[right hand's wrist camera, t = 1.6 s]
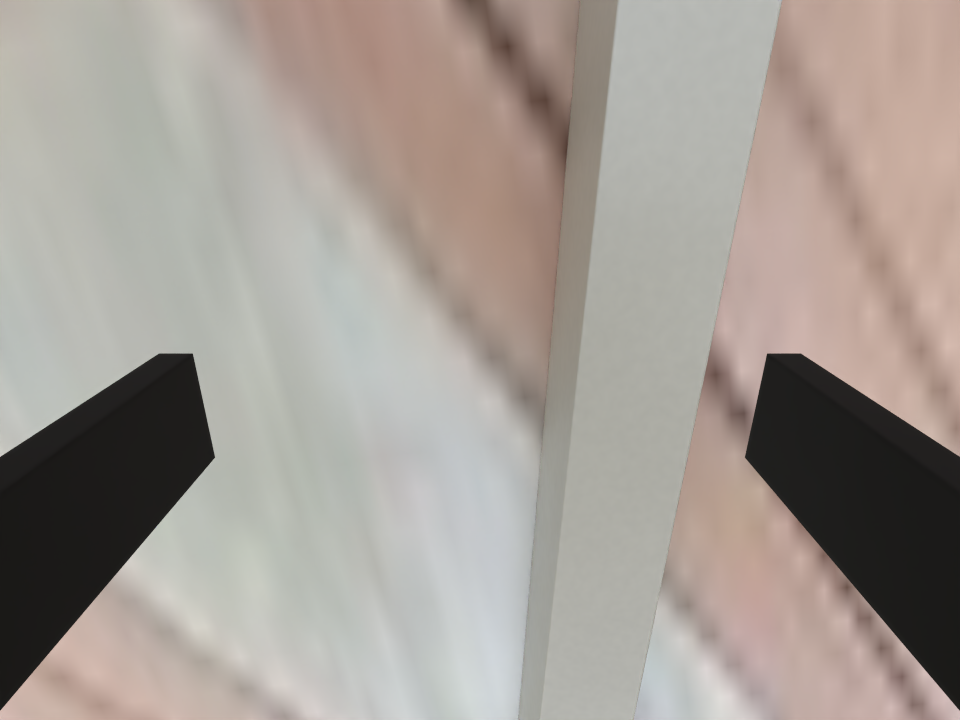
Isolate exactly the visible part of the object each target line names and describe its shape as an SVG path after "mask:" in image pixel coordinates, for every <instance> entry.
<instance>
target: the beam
mask: <svg viewBox="0 0 960 720" xmlns="http://www.w3.org/2000/svg"><path fill="white" fill-rule="evenodd" d="M781 3H782V0H580V8H579V19H578V31H577V42H576V54H575V66H574V77H573V89H572V101H571V112H570V124H569V135H568V147H567V159H566V170H565V182H564V194H563V205H562V217H561V228H560V240H559V252H558V263H557V275H556V287H555V298H554V310H553V321H552V333H551V345H550V356H549V368H548V380H547V391H546V403H545V414H544V426H543V438H542V449H541V461H540V473H539V484H538V496H537V507H536V519H535V531H534V542H533V554H532V566H531V577H530V589H529V600H528V612H527V624H526V635H525V647H524V658H523V670H522V682H521V693H520V705H519V717H518V720H633V719H634V714H635V709H636V705H637V700H638V695H639V690H640V685H641V680H642V676H643V671H644V666H645V661H646V656H647V651H648V647H649V642H650V637H651V632H652V627H653V622H654V618H655V613H656V608H657V603H658V598H659V593H660V588H661V584H662V579H663V574H664V569H665V564H666V559H667V555H668V550H669V545H670V540H671V535H672V530H673V526H674V521H675V516H676V511H677V506H678V501H679V497H680V492H681V487H682V482H683V477H684V472H685V467H686V463H687V458H688V453H689V448H690V443H691V438H692V434H693V429H694V424H695V419H696V414H697V409H698V405H699V400H700V395H701V390H702V385H703V380H704V376H705V371H706V366H707V361H708V356H709V351H710V347H711V342H712V337H713V332H714V327H715V322H716V317H717V313H718V308H719V303H720V298H721V293H722V288H723V284H724V279H725V274H726V269H727V264H728V259H729V255H730V250H731V245H732V240H733V235H734V230H735V226H736V221H737V216H738V211H739V206H740V201H741V196H742V192H743V187H744V182H745V177H746V172H747V167H748V163H749V158H750V153H751V148H752V143H753V138H754V134H755V129H756V124H757V119H758V114H759V109H760V105H761V100H762V95H763V90H764V85H765V80H766V76H767V71H768V66H769V61H770V56H771V51H772V46H773V42H774V37H775V32H776V27H777V22H778V17H779V13H780V8H781Z"/></svg>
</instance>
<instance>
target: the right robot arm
mask: <svg viewBox="0 0 960 720" xmlns="http://www.w3.org/2000/svg"><path fill="white" fill-rule="evenodd" d="M214 458H215V455H214V451H213V446H212V441H211V437H210V432H209V427H208V423H207V418H206V413H205V409H204V404H203V399H202V395H201V390H200V385H199V381H198V376H197V371H196V367H195V362H194V357H193V354H158V355H156V356H155V357H153V358H152V359H150V360H149V361H147V362H146V363H144V364H143V365H141V366H139V367H138V368H136V369H135V370H133V371H132V372H130V373H129V374H127V375H126V376H124V377H123V378H121V379H119V380H118V381H116V382H115V383H113V384H112V385H110V386H109V387H107V388H106V389H104V390H103V391H101V392H99V393H98V394H96V395H95V396H93V397H92V398H90V399H89V400H87V401H86V402H84V403H83V404H81V405H79V406H78V407H76V408H75V409H73V410H72V411H70V412H69V413H67V414H66V415H64V416H63V417H61V418H59V419H58V420H56V421H55V422H53V423H52V424H50V425H49V426H47V427H46V428H44V429H43V430H41V431H39V432H38V433H36V434H35V435H33V436H32V437H30V438H29V439H27V440H26V441H24V442H23V443H21V444H19V445H18V446H16V447H15V448H13V449H12V450H10V451H9V452H7V453H6V454H4V455H3V456H1V457H0V710H1V709H2V708H3V707H4V706H5V704H6V703H7V702H8V701H9V700H10V698H11V697H12V696H13V695H14V694H15V693H16V691H17V690H18V689H19V688H20V687H21V685H22V684H23V683H24V682H25V681H26V680H27V678H28V677H29V676H30V675H31V674H32V673H33V671H34V670H35V669H36V668H37V667H38V665H39V664H40V663H41V662H42V661H43V660H44V658H45V657H46V656H47V655H48V654H49V652H50V651H51V650H52V649H53V648H54V647H55V645H56V644H57V643H58V642H59V641H60V640H61V638H62V637H63V636H64V635H65V634H66V632H67V631H68V630H69V629H70V628H71V627H72V625H73V624H74V623H75V622H76V621H77V619H78V618H79V617H80V616H81V615H82V614H83V612H84V611H85V610H86V609H87V608H88V607H89V605H90V604H91V603H92V602H93V601H94V599H95V598H96V597H97V596H98V595H99V594H100V592H101V591H102V590H103V589H104V588H105V586H106V585H107V584H108V583H109V582H110V581H111V579H112V578H113V577H114V576H115V575H116V574H117V572H118V571H119V570H120V569H121V568H122V566H123V565H124V564H125V563H126V562H127V561H128V559H129V558H130V557H131V556H132V555H133V553H134V552H135V551H136V550H137V549H138V548H139V546H140V545H141V544H142V543H143V542H144V541H145V539H146V538H147V537H148V536H149V535H150V533H151V532H152V531H153V530H154V529H155V528H156V526H157V525H158V524H159V523H160V522H161V520H162V519H163V518H164V517H165V516H166V515H167V513H168V512H169V511H170V510H171V509H172V508H173V506H174V505H175V504H176V503H177V502H178V500H179V499H180V498H181V497H182V496H183V495H184V493H185V492H186V491H187V490H188V489H189V487H190V486H191V485H192V484H193V483H194V482H195V480H196V479H197V478H198V477H199V476H200V475H201V473H202V472H203V471H204V470H205V469H206V467H207V466H208V465H209V464H210V463H211V462H212V460H213V459H214ZM745 458H746V459H747V460H748V462H749V463H750V464H751V465H752V466H753V467H754V469H755V470H756V471H757V472H758V473H759V475H760V476H761V477H762V478H763V479H764V480H765V482H766V483H767V484H768V485H769V486H770V487H771V489H772V490H773V491H774V492H775V493H776V495H777V496H778V497H779V498H780V499H781V500H782V502H783V503H784V504H785V505H786V506H787V508H788V509H789V510H790V511H791V512H792V513H793V515H794V516H795V517H796V518H797V519H798V520H799V522H800V523H801V524H802V525H803V526H804V528H805V529H806V530H807V531H808V532H809V533H810V535H811V536H812V537H813V538H814V539H815V541H816V542H817V543H818V544H819V545H820V546H821V548H822V549H823V550H824V551H825V552H826V553H827V555H828V556H829V557H830V558H831V559H832V561H833V562H834V563H835V564H836V565H837V566H838V568H839V569H840V570H841V571H842V572H843V574H844V575H845V576H846V577H847V578H848V579H849V581H850V582H851V583H852V584H853V585H854V586H855V588H856V589H857V590H858V591H859V592H860V594H861V595H862V596H863V597H864V598H865V599H866V601H867V602H868V603H869V604H870V605H871V607H872V608H873V609H874V610H875V611H876V612H877V614H878V615H879V616H880V617H881V618H882V619H883V621H884V622H885V623H886V624H887V625H888V627H889V628H890V629H891V630H892V631H893V632H894V634H895V635H896V636H897V637H898V638H899V640H900V641H901V642H902V643H903V644H904V645H905V647H906V648H907V649H908V650H909V651H910V652H911V654H912V655H913V656H914V657H915V658H916V660H917V661H918V662H919V663H920V664H921V665H922V667H923V668H924V669H925V670H926V671H927V673H928V674H929V675H930V676H931V677H932V678H933V680H934V681H935V682H936V683H937V684H938V685H939V687H940V688H941V689H942V690H943V691H944V693H945V694H946V695H947V696H948V697H949V698H950V700H951V701H952V702H953V703H954V704H955V706H956V707H957V708H958V709H959V710H960V457H959V456H957V455H956V454H954V453H953V452H951V451H950V450H948V449H947V448H945V447H944V446H942V445H941V444H939V443H937V442H936V441H934V440H933V439H931V438H930V437H928V436H927V435H925V434H924V433H922V432H921V431H919V430H917V429H916V428H914V427H913V426H911V425H910V424H908V423H907V422H905V421H904V420H902V419H901V418H899V417H897V416H896V415H894V414H893V413H891V412H890V411H888V410H887V409H885V408H884V407H882V406H881V405H879V404H877V403H876V402H874V401H873V400H871V399H870V398H868V397H867V396H865V395H864V394H862V393H861V392H859V391H857V390H856V389H854V388H853V387H851V386H850V385H848V384H847V383H845V382H844V381H842V380H841V379H839V378H837V377H836V376H834V375H833V374H831V373H830V372H828V371H827V370H825V369H824V368H822V367H821V366H819V365H817V364H816V363H814V362H813V361H811V360H810V359H808V358H807V357H805V356H804V355H802V354H767V357H766V362H765V367H764V371H763V376H762V381H761V385H760V390H759V395H758V399H757V404H756V409H755V413H754V418H753V423H752V427H751V432H750V437H749V441H748V446H747V451H746V455H745Z"/></svg>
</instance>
